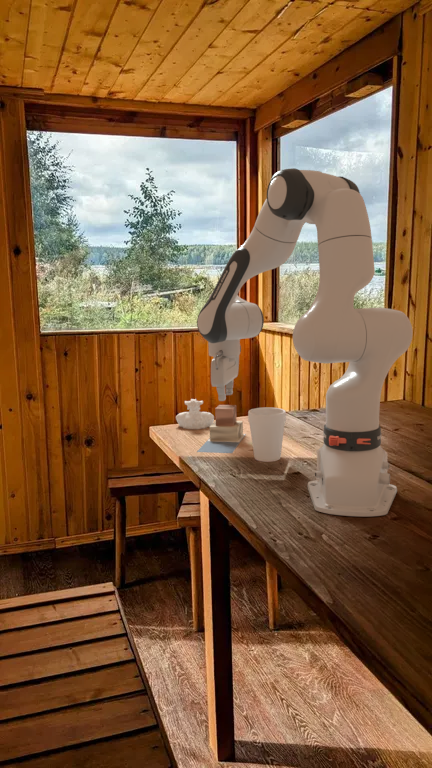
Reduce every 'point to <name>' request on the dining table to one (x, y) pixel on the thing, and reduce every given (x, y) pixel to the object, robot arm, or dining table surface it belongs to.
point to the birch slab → (226, 432)
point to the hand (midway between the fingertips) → (225, 397)
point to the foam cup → (267, 432)
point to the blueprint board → (220, 446)
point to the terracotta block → (225, 415)
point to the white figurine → (194, 416)
